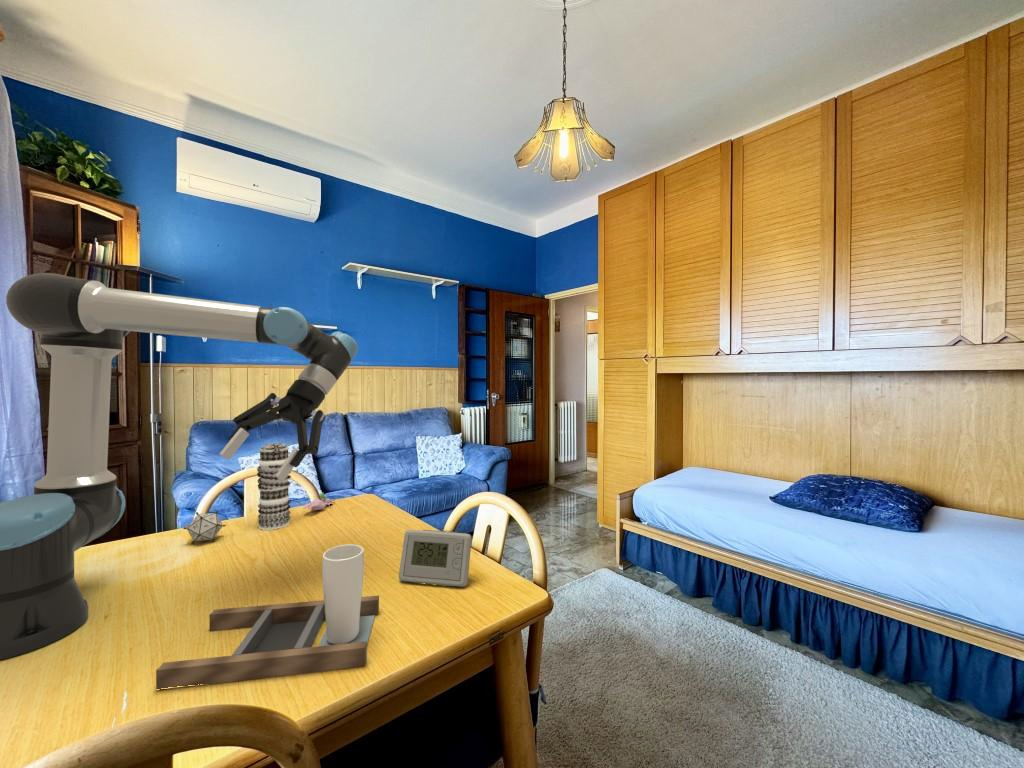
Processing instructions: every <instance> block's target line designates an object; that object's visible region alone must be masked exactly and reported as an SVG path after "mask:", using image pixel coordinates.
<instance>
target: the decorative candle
mask: <svg viewBox="0 0 1024 768" xmlns="http://www.w3.org/2000/svg"><path fill="white" fill-rule="evenodd" d="M289 449H290V447H287V445H286V444H285V443H283V442H282V443H281V442H272V443H266V444H264V445H263V446H262V447H261V448H260V449H258V452H259V457H260V459H259V460H258V461H259V466H258V467H257V468H256V471H257V473H256V476H257V477H258V479H257V483H258V484H257V489H258V491H259V503H258V504H257V507H258V509H257V511H258V515H257V519H258V521H257V524H258V530H261V529H264V530H263V531H272V530H271V529H275V530H278V529H277V528H280V529H283V528H286V527H287V525H288V524H289V523H290V524H291V521H290V520H291V516H290V514H291V510H290V508H291V506H290V503H291V499H290V494H289V487H290V486H291V481H289V479H291V478H292V476H291V475H290V474H291V473H292V471H291V472H290V473H289V474H288V476H287V477H286V479H285V480H284V481H281V480H280V479H278V478H277V477H276V476H275V475H276V473H277V472H278V470H279V469H280V468H281V466H282V465H283V463H284V462H285V461H286V459H287V458H288V456H289ZM290 524H289V525H290ZM289 525H288V526H289ZM285 526H286V527H285ZM282 527H283V528H282Z"/></svg>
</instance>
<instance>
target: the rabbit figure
mask: <svg viewBox="0 0 1024 768" xmlns="http://www.w3.org/2000/svg"><path fill="white" fill-rule="evenodd" d="M332 501H335V498H332V499H331V498H328V497H326V496H325V495H324V492H320V494H319V499H314V500H313V501H311V502H310V503H306V504H305V503H304V505H303V506H302V507H303V509H302V510H306V509H307V510H310V509H311V511H316V510H320V509H321V510H323V509H325V508H326V507H328V506H327V505H329V504H332V503H333V504H334V502H332ZM335 502H336V501H335ZM333 504H332V505H333ZM321 510H320V511H321Z"/></svg>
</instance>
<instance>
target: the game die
mask: <svg viewBox="0 0 1024 768" xmlns="http://www.w3.org/2000/svg"><path fill="white" fill-rule="evenodd" d="M218 513H219V509H218V510H216V511H215V512H211V513H207V512H206V513H199V512H198V511H196V512H195V514H196V516H195V517H194V518H193V519H192V521H191V522H190V523H189V525H188V526H185V527H183V528H182V529H183V530H187V531H188V533H189V535H190V537H191V539H192V542H191V545H193V544H195V542H202V541H203V542H204V541H212V542H213V543H215V541H216V540H215V537H217V534H218V533H219V532H220V531H221V529H222V528H223V527H226V526H227V525H226V524H223V522H222V520H221V519H220V517H219V515H218Z"/></svg>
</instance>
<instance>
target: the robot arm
mask: <svg viewBox="0 0 1024 768" xmlns="http://www.w3.org/2000/svg"><path fill="white" fill-rule="evenodd" d="M5 304H6V306H7V310H8V312H9V313H10V315H11V317H13V319H14V320H16V322H17V323H19V324H20V325H22V326H23V327H24V328H27V329H29V330H31V331H33V332H35V333H38V334H40V344H39V345H40V348H42V349H43V350H45V351H46V352H47V353H49V354H50V357H51V360H50V382H49V383H50V384H49V385H50V386H49V406H48V407H49V408H48V409H49V412H48V427H47V429H48V430H47V431H48V434H47V454H46V455H47V456H46V458H47V459H46V473H45V475H44V476H43V477H42V478H40V479H39V480H38V481H37V482H35V483H34V485H33V486H34V488H33V494H32V495H31V494H30V495H25V496H20V497H16V498H14V499H12V500H11V499H9V500H5V501H2V502H0V661H2V660H5V659H9V658H13V657H16V656H21V655H23V654H26V653H29V652H32V651H34V650H38V649H39V648H43V647H45V646H47V645H50V644H53V643H55V642H57V641H58V640H61V639H62V638H64V637H66V636H68V635H69V634H71V633H73V632H74V631H76V630H77V629H79V628H81V626H83V625H84V624H85V623H86V622H87V620H88V618H89V604H88V601H87V600H86V599H85V598H84V596H83V593H82V591H81V588H80V587H79V585H78V583H77V582H76V578H75V552H77V550H79V549H81V548H83V547H85V545H87V544H90V542H92V541H95V540H96V539H98V538H100V537H102V536H104V535H105V534H106V533H107V532H109V531H110V530H111V529H112V528H113V527H114V526H115V525H117V523H118V522H119V521H120V520H121V518H122V516H123V515H124V512H125V509H126V497H125V495H124V493H123V491H122V489H121V490H120V489H119V488H118V486H117V475H116V474H114V473H113V472H112V471H110V470H108V457H109V456H108V455H109V454H108V453H109V430H110V405H111V381H112V379H111V378H112V362H113V361H112V360H113V358H114V357H116V356H118V355H119V354H121V353H122V351H123V341H124V340H123V339H124V338H125V337H126V336H128V334H129V333H130V332H137V333H138V332H139V333H149V334H160V335H169V336H180V337H181V336H182V337H183V336H184V337H191V338H192V337H195V338H201V339H202V338H207V339H215V340H225V341H237V342H238V341H239V342H250V343H259V344H267V345H278V346H285V347H287V348H288V349H291V350H292V351H294V352H296V353H298V354H299V355H301V356H302V357H305V358H306V359H307V360H309V361H310V362H309V363H308V364H307V365H306V366H305V367H304V369H303V370H302V371H301V372H300V373H299V374H298V376H297V378H298V379H296V380H294V381H293V383H292V384H291V385H290V387H289V388H288V389H287V390H286V393H285V396H283V397H279V396H277V394H276V393H274V392H272V393H270V394H269V395H268V396H267V397H266V398H265V399H263V400H261V401H260V402H259V403H257V404H255V405H254V406H252V407H250V408H249V409H247V410H244V411H243V412H242V413H240V414H239V415H237V416H236V417H234V418H233V419H232V421H233V422H234V423H235V425H237V427H236V429H234V430H233V432H232V433H231V435H230V436H229V437H228V442H227V444H226V445H225V446H224V447H223V449H222V450H220V452H219V454H218V455H220V456H221V457H223V458H224V459H226V460H228V461H229V460H231V458H232V457H233V455H235V453H236V452H237V451H238V450H239V448H240V447H241V446H242V445H243V444H244V442H245V440H247V438H248V437H249V436H250V433H249V432H251V431H252V430H254V429H257V428H259V427H261V426H264V425H267V424H269V423H271V422H273V421H280V420H283V421H284V422H290V423H291V424H293V425H296V433H297V443H298V444H297V445H298V446H297V448H293V449H292V450H291V452H290V453H289V454H288V458H287V459H286V461H285V462H284V463H283V465H282V466H281V468H280V469H279V470H278V472H277V473H276V475H275V476H276V477H277V478H278V479H280V480H281V481H284V480H285V479H286V477H287V476H288V475H290V474H291V473H292V470H293V469H294V468H298V467H299V466H300V464H301V463H302V462H303V460H304V458H305V457H306V456H307V455H314V456H315V455H318V454H319V453H318V452H319V448H320V440H321V433H322V426H323V423H324V421H325V420H326V417H327V416H326V414H325V413H324V411H323V410H321V409H318V408H319V407H320V406H321V404H322V403H323V401H324V400H325V398H326V396H327V395H328V394H329V392H331V390H332V388H333V387H334V386H335V384H336V383H337V382H338V380H339V379H340V378H341V376H342V375H343V374H344V372H345V371H346V370H347V369H348V367H349V366H350V364H351V363H352V361H353V360H354V358H355V356H356V355H357V353H358V352H359V351H358V350H359V346H358V344H357V342H356V339H355V340H354V338H353V337H351V336H350V335H349V334H348V333H343V332H342V331H334V332H332V333H331V334H330V335H329V334H328V333H326V332H324V331H322V330H321V329H320V328H318V327H317V326H315V325H313V324H312V323H310V322H309V321H308V320H307V318H305V316H304V315H303V314H302V313H301V312H300V311H298V310H296V309H294V308H291V307H286V306H279V307H266V306H261V305H260V306H259V305H252V304H251V305H250V304H244V303H243V304H242V303H234V302H229V301H228V302H226V301H218V300H209V299H202V298H193V297H186V296H178V295H168V294H161V293H151V292H144V291H136V290H129V289H128V290H127V289H120V288H113V287H112V288H111V287H108V286H106V285H105V284H104V283H102V281H101V282H100V281H99V280H93V279H91V280H90V279H85V278H78V277H73V276H67V275H65V274H64V275H63V274H60V273H53V272H40V273H33V274H29V275H25V276H23V277H22V278H19V279H18V280H16V281H15V282H14V283H13V284H12V285H11V286H10V287H9V288H8V290H7V293H6V296H5ZM310 418H312V421H311V428H310V434H309V438H308V431H307V427H308V425H307V420H308V419H310ZM308 439H309V440H308ZM290 472H291V473H290Z"/></svg>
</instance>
